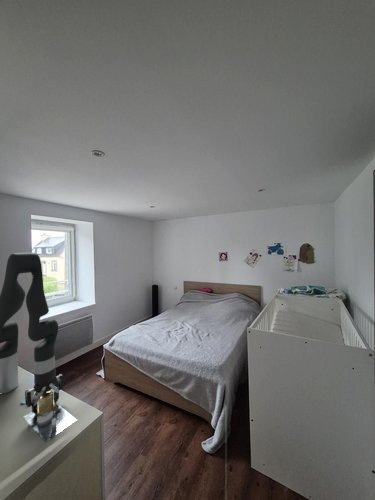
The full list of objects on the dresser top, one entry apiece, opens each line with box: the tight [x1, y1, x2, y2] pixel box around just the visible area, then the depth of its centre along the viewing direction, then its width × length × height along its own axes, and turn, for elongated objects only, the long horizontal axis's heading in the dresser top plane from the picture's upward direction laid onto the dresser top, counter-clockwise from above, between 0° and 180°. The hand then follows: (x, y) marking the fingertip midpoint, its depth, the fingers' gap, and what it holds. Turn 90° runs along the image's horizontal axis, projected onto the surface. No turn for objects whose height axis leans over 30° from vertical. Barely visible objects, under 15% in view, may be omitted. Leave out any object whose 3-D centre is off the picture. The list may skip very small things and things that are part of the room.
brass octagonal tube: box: [37, 390, 58, 415], centre depth 86 cm, size 7×7×6 cm
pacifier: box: [20, 391, 35, 405], centre depth 93 cm, size 7×6×6 cm
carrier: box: [22, 403, 78, 443], centre depth 81 cm, size 21×11×5 cm, turn 57°
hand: (46, 406), depth 86 cm, fingers closed on brass octagonal tube, 7 cm apart
